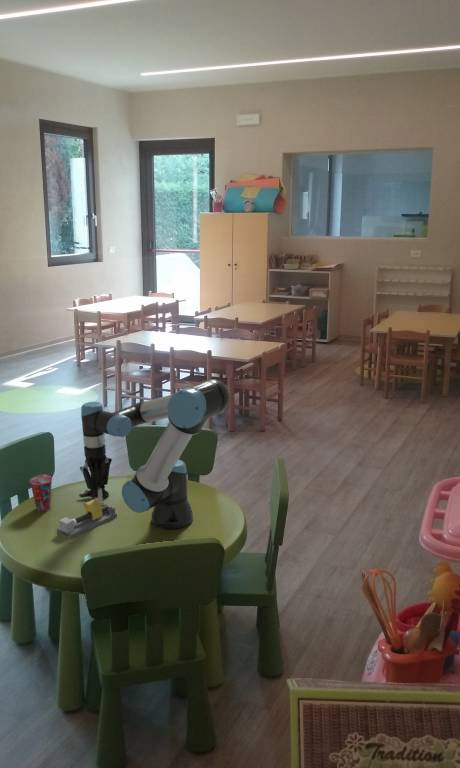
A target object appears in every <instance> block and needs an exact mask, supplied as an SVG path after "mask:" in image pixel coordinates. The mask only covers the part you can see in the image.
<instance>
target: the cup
mask: <svg viewBox="0 0 460 768" xmlns="http://www.w3.org/2000/svg"><path fill="white" fill-rule="evenodd" d="M52 480H53V476H51V475H49V474H46V473H42V474H38V475H35V476H33V477H31V478H30V479H29V480H28V482H29V484H30V487H31V491H32V494H33V495H32V497H33V499H34V503H35V507H36V510H37V511H38V512H45V511H48V510H50V509H51V507H52V504H51V502H52Z"/></svg>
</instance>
